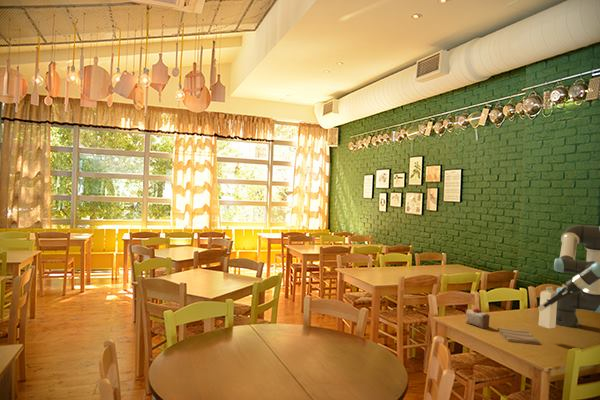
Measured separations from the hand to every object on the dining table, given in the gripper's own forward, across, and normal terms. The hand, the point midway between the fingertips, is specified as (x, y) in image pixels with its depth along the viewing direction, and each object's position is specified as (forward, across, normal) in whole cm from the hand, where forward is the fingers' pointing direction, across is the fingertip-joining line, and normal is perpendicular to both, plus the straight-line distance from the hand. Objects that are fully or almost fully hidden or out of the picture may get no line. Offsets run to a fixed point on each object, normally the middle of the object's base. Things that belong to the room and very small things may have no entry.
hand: (541, 307), depth 240 cm
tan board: (+19, -5, -6) cm, 21 cm away
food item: (+37, 0, +11) cm, 38 cm away
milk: (+5, 0, -9) cm, 10 cm away
